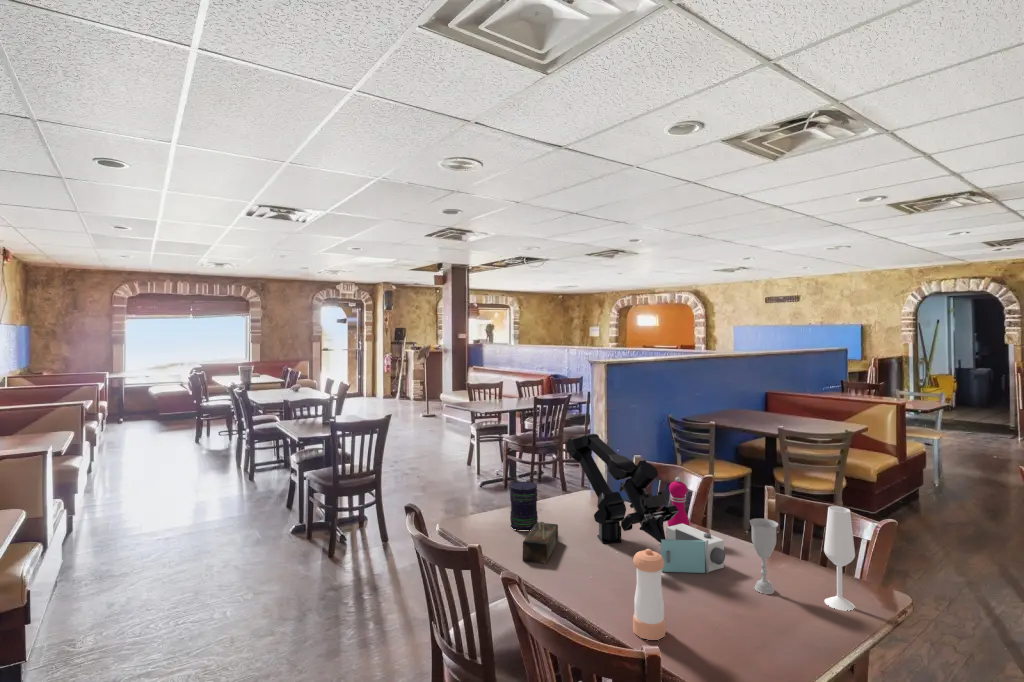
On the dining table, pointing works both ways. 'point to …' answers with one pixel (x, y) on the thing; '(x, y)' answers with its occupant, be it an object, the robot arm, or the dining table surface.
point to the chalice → (764, 548)
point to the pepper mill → (678, 502)
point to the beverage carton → (540, 542)
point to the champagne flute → (839, 550)
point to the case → (712, 543)
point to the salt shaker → (649, 596)
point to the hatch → (683, 555)
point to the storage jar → (523, 505)
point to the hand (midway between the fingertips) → (664, 543)
